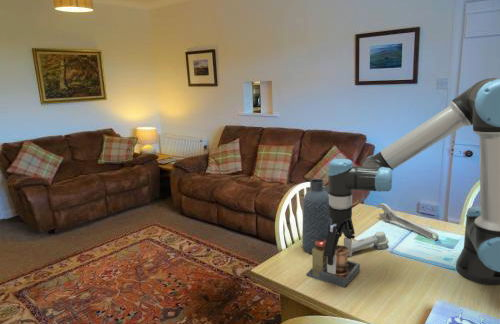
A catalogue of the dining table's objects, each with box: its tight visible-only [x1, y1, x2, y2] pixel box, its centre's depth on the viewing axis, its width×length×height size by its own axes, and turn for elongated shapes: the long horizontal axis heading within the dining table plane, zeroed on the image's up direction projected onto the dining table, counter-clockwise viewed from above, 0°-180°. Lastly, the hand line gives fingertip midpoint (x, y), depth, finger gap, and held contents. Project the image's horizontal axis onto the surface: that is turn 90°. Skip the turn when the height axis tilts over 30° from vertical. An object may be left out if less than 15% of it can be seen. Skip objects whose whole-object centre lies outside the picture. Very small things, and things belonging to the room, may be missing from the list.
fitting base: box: [306, 239, 361, 289], centre depth 126 cm, size 14×13×11 cm
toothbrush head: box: [341, 231, 389, 254], centre depth 141 cm, size 5×7×25 cm
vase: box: [301, 178, 332, 255], centre depth 143 cm, size 12×12×28 cm
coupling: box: [332, 244, 348, 277], centre depth 125 cm, size 6×6×9 cm
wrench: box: [376, 202, 439, 241], centre depth 159 cm, size 8×2×30 cm
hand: (339, 263), depth 125 cm, fingers open, 13 cm apart
